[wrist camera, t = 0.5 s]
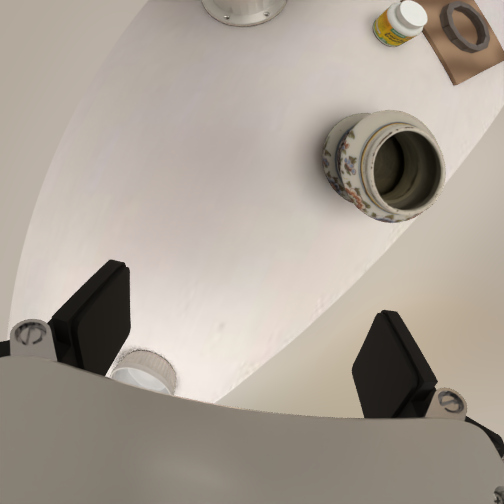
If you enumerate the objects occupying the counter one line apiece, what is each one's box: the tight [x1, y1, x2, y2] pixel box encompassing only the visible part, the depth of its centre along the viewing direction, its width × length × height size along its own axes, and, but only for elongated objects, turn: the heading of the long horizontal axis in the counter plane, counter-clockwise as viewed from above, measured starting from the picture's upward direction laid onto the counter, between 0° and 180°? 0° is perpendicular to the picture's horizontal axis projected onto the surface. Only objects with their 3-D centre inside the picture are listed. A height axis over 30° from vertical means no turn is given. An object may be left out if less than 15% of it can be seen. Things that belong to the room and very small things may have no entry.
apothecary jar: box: [323, 110, 446, 223], centre depth 33 cm, size 12×12×18 cm
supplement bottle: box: [373, 0, 427, 47], centre depth 29 cm, size 5×5×10 cm
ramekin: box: [110, 351, 176, 395], centre depth 55 cm, size 13×13×7 cm
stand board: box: [401, 0, 504, 85], centre depth 30 cm, size 16×16×4 cm
